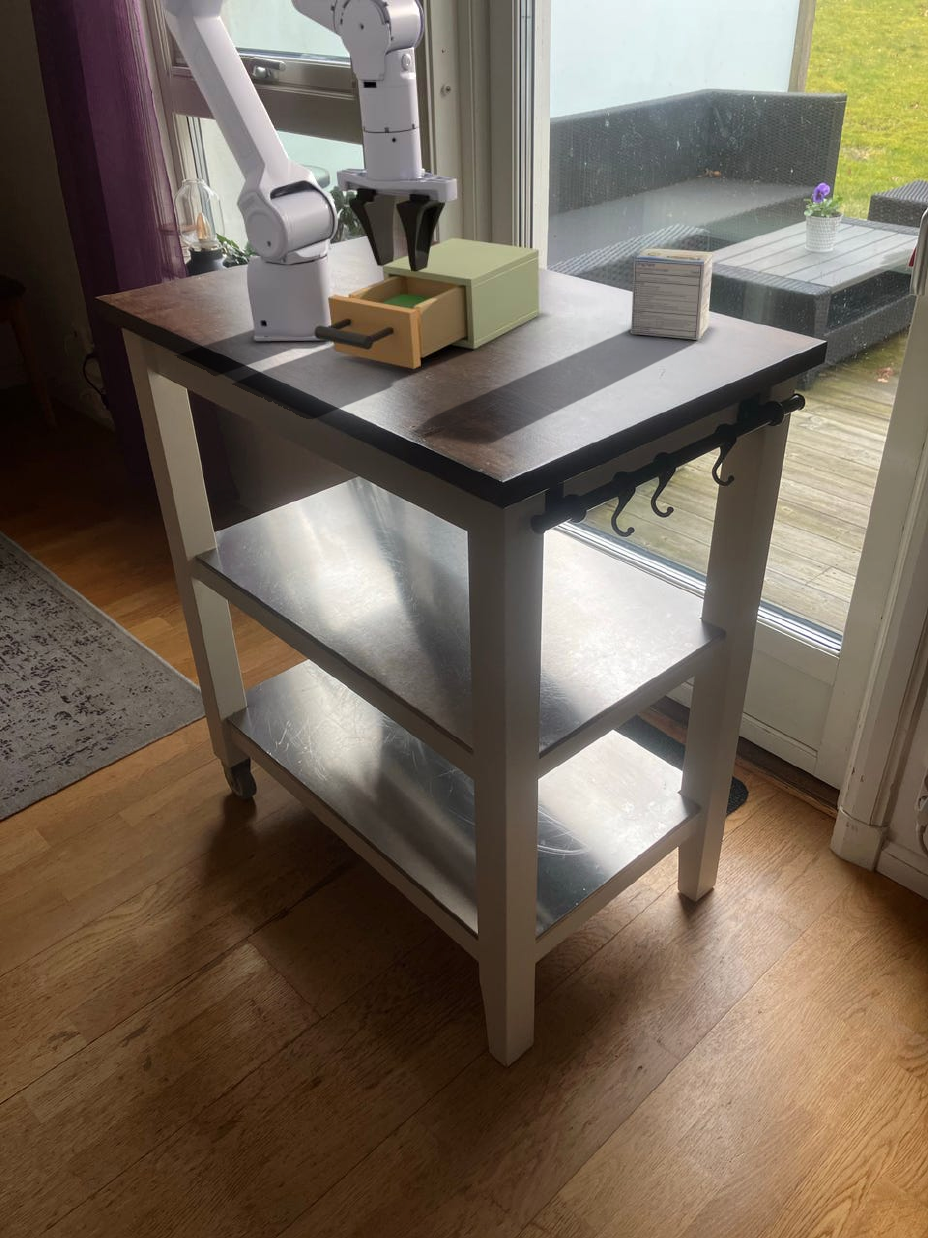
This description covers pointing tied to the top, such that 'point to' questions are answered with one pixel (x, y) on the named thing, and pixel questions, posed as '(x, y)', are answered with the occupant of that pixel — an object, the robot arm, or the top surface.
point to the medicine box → (671, 293)
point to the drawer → (397, 320)
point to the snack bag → (406, 301)
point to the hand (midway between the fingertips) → (402, 266)
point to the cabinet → (483, 284)
